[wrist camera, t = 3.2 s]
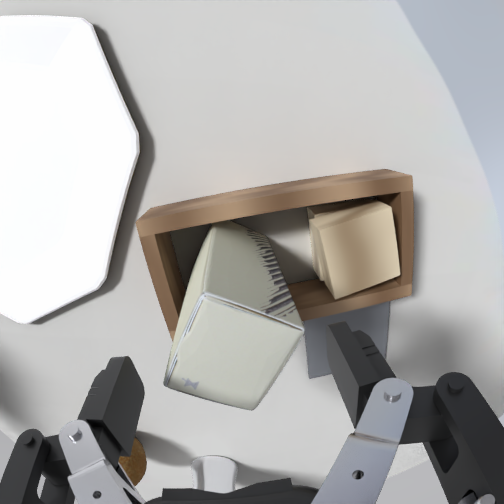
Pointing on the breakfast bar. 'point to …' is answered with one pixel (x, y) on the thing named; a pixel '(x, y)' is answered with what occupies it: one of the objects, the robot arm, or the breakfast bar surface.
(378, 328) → the mat
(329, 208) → the offcut
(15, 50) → the plate
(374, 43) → the breakfast bar surface
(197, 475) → the beer glass
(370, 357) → the robot arm
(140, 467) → the fruit
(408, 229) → the wooden tray
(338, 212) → the offcut
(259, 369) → the box
